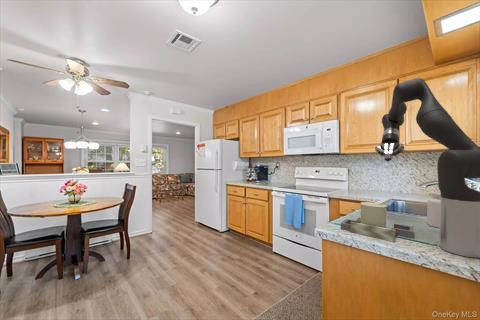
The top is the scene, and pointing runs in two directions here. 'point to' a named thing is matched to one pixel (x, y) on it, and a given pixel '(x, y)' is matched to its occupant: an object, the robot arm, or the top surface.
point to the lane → (373, 230)
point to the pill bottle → (434, 210)
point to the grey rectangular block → (373, 214)
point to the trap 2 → (405, 231)
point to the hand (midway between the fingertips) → (387, 160)
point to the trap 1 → (346, 224)
